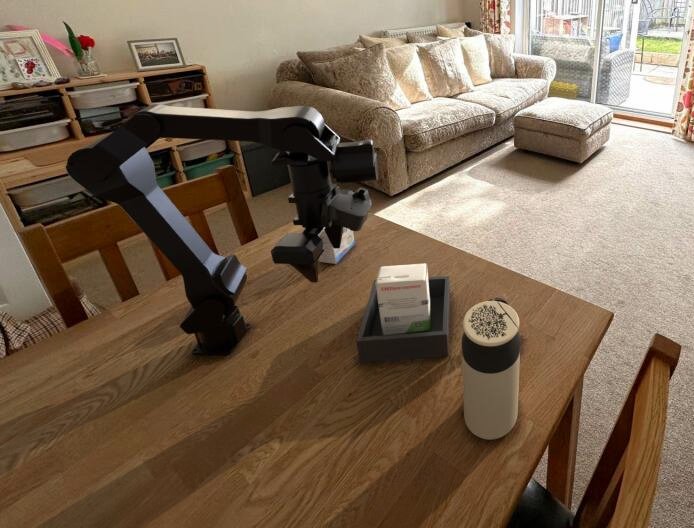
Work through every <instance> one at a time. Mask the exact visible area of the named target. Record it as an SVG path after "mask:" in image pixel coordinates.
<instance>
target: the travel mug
mask: <svg viewBox="0 0 694 528" xmlns="http://www.w3.org/2000/svg"><path fill="white" fill-rule="evenodd" d="M462 328H463V331H464V332H463V334H462V336H461V363H462V388H463V389H462V391H463V392H462V395H463V396H462V397H463V418H464V422H465V425H466V427H467V428H468V430H469V431H470V433H471V434H473V435H474V436H475V437H478V438H480V439H484V440H497V439H500V438H502V437H504V436H506V435H507V434H508V433H510V431H512V429H513V428H514V427H515V425H516V423H517V420H518V413H519V392H520V391H519V389H520V387H519V386H520V364H521V363H520V361H521V344H520V342H521V338H520V334H521V333H519V332H520V331H519V329H520V318H519V315H518V313H517V311H516V310H515V309H514V308H513V307H512V306H511V305H507V304H505V303H502V302H498V301H488V300H487V301H486V300H485V301H482V302H479V303H477V304H474V305H473V306H472V307H471V308H469V309H468V310H467V312H466V313H465V315H464V317H463V320H462Z"/></svg>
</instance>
